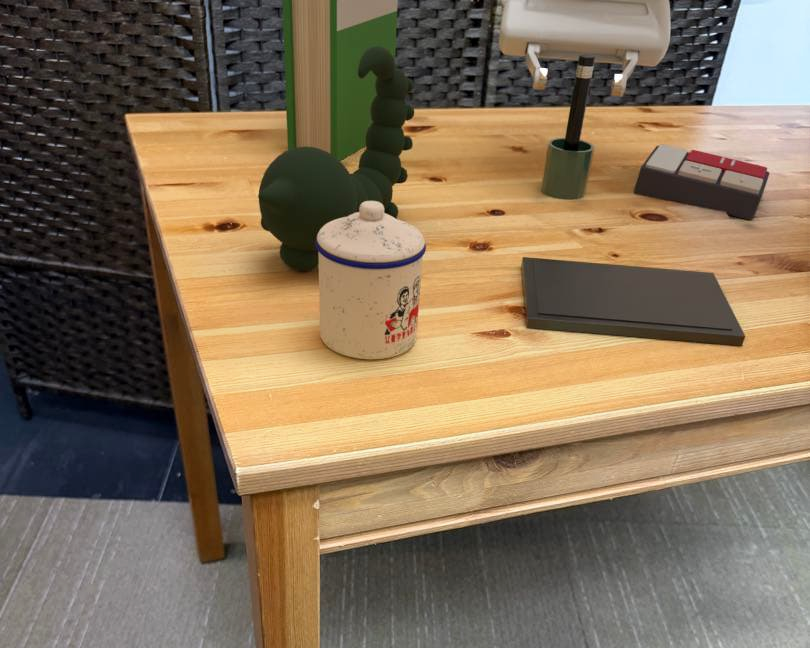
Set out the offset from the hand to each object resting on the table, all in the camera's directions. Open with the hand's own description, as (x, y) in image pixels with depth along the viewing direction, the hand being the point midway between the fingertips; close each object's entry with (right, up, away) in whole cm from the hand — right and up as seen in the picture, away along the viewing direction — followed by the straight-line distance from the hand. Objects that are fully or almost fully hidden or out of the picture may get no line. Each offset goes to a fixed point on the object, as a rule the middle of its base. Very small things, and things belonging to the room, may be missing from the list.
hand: (578, 90), depth 97 cm
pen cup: (-1, -10, +6) cm, 12 cm away
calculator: (+17, -9, +8) cm, 21 cm away
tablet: (+1, -31, -17) cm, 35 cm away
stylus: (-1, -10, +5) cm, 11 cm away
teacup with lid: (-24, -35, -24) cm, 49 cm away
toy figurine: (-28, -23, -11) cm, 38 cm away
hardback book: (-30, +2, +17) cm, 34 cm away
